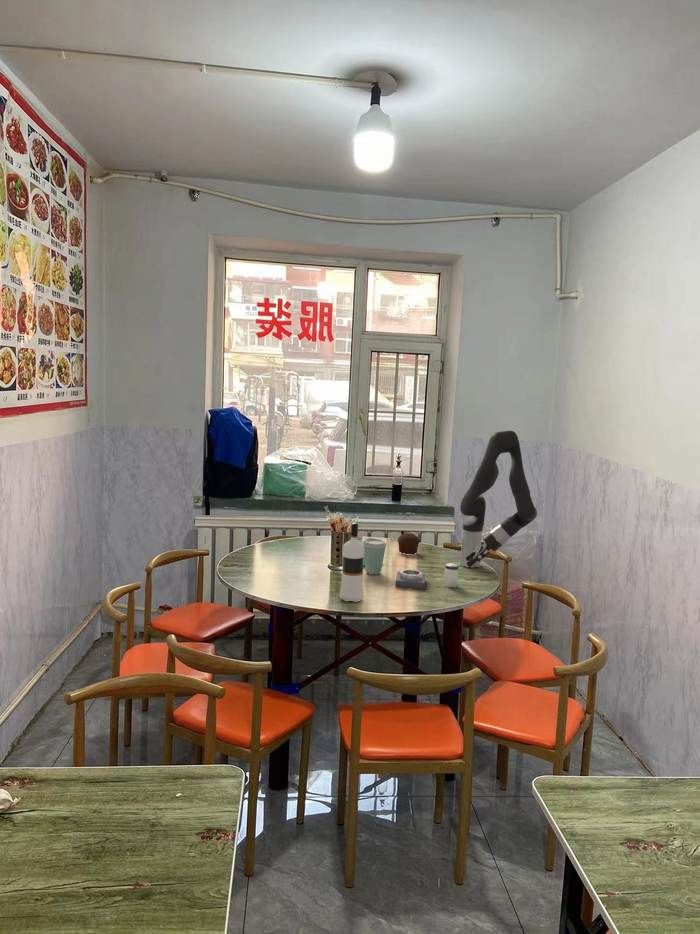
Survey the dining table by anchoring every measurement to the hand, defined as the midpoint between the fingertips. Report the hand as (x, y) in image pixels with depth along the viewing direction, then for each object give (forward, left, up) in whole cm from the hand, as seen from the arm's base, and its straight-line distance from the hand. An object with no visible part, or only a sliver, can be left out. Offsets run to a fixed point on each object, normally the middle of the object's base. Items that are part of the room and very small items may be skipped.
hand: (467, 562), depth 286 cm
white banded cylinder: (0, -6, -10) cm, 12 cm away
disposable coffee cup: (-10, -40, -11) cm, 43 cm away
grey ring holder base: (+2, -23, -10) cm, 26 cm away
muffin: (-52, -26, -11) cm, 59 cm away
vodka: (+29, -45, -11) cm, 55 cm away
